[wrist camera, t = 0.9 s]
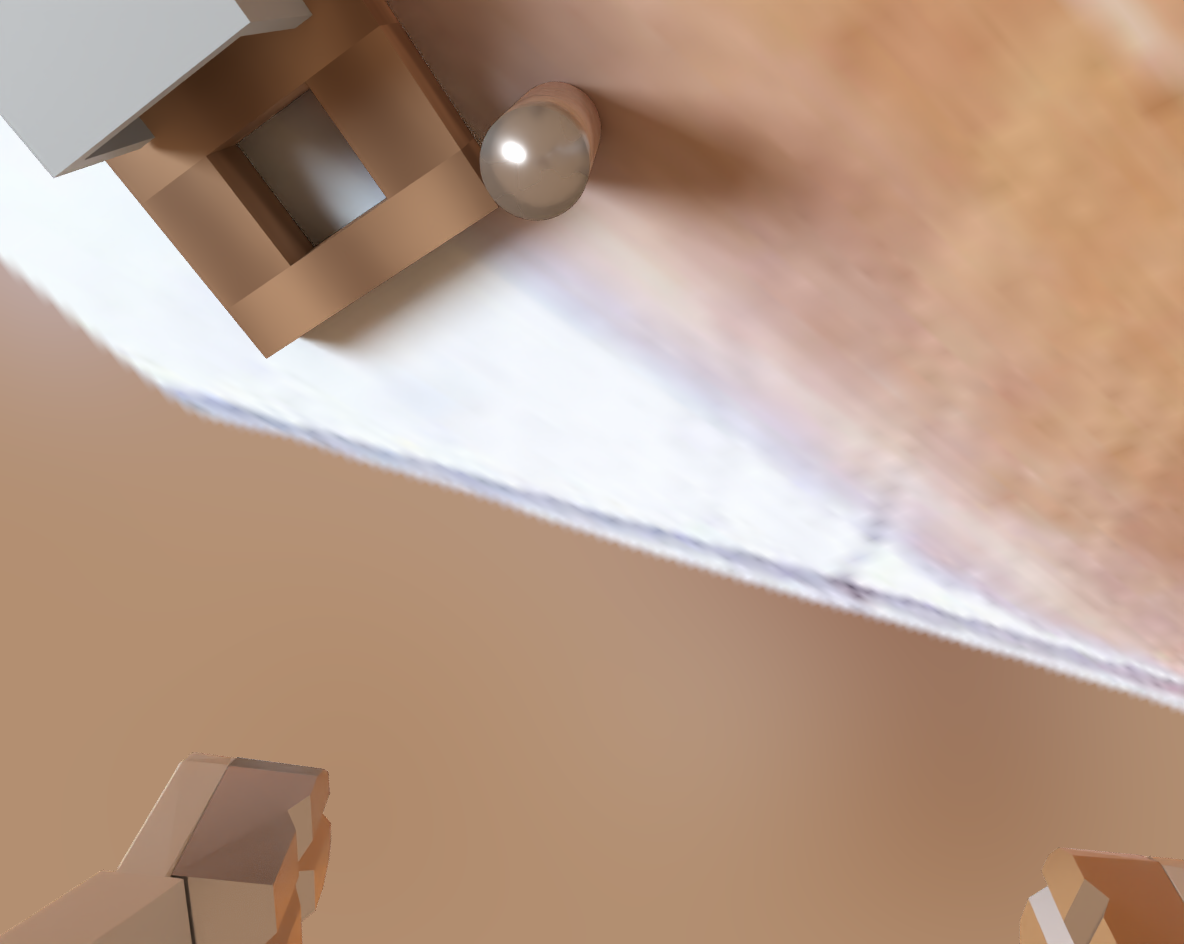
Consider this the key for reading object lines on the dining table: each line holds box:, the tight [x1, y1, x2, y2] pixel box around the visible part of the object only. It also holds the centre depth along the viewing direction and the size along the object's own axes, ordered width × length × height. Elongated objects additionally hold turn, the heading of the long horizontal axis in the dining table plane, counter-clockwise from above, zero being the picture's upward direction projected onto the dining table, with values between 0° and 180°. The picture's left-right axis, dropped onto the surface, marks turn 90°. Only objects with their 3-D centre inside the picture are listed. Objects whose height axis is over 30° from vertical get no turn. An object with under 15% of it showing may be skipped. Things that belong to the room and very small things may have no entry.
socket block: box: [106, 0, 499, 359], centre depth 37 cm, size 12×18×3 cm, turn 32°
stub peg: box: [480, 82, 601, 220], centre depth 35 cm, size 4×4×8 cm
